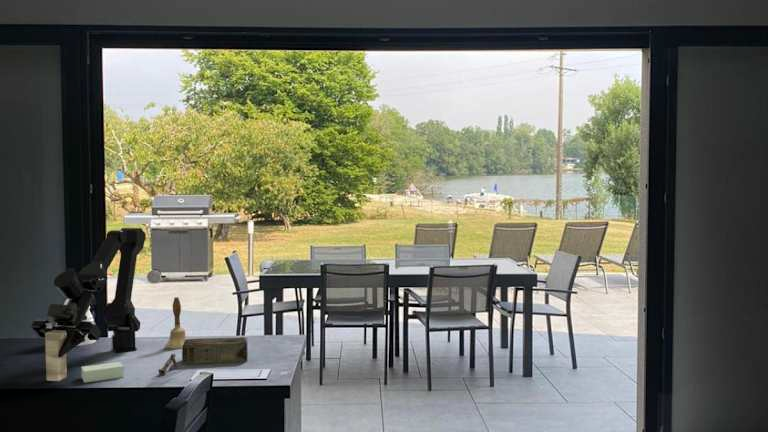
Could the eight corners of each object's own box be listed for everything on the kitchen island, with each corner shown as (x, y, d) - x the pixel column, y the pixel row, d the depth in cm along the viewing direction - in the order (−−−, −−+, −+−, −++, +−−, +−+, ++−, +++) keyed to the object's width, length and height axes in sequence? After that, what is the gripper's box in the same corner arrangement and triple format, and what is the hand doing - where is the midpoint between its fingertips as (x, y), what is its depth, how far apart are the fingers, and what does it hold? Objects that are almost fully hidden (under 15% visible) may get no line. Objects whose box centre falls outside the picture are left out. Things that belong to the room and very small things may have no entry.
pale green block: (120, 372, 197) (119, 361, 196) (123, 377, 192) (123, 366, 192) (81, 377, 191) (81, 366, 191) (84, 382, 187) (84, 371, 187)
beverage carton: (248, 362, 207) (247, 340, 207) (181, 366, 204) (180, 344, 203) (248, 355, 215) (248, 334, 215) (184, 359, 212) (183, 337, 211)
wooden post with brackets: (180, 364, 202) (177, 351, 200) (167, 382, 195) (163, 369, 193) (174, 363, 202) (171, 351, 200) (161, 382, 195) (157, 369, 193)
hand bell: (161, 349, 223) (160, 299, 223) (169, 343, 232) (168, 295, 231) (187, 349, 224) (186, 299, 223) (194, 342, 232) (193, 295, 231)
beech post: (55, 376, 192) (53, 330, 192) (66, 377, 192) (65, 330, 191) (46, 380, 189) (45, 333, 188) (58, 381, 188) (57, 333, 188)
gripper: (33, 291, 195) (6, 339, 184) (93, 292, 191) (69, 341, 181) (52, 313, 203) (27, 360, 193) (111, 315, 199) (88, 363, 189)
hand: (52, 356), depth 189 cm, fingers closed on beech post, 4 cm apart
